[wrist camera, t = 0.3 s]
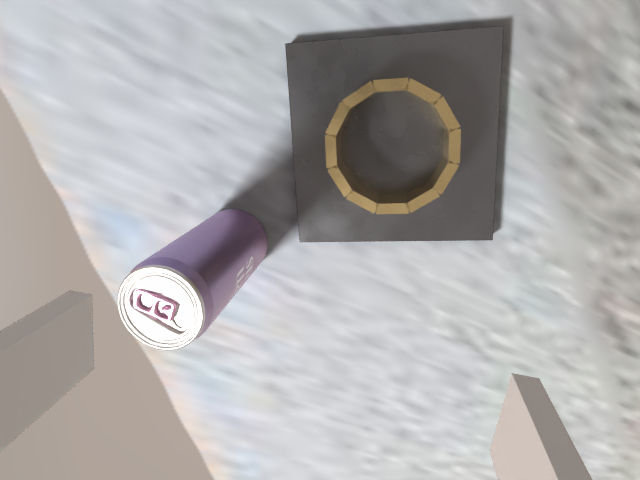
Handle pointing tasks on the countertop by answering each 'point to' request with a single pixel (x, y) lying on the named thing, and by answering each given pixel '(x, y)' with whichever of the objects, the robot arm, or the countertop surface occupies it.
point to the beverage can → (191, 280)
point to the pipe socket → (396, 135)
